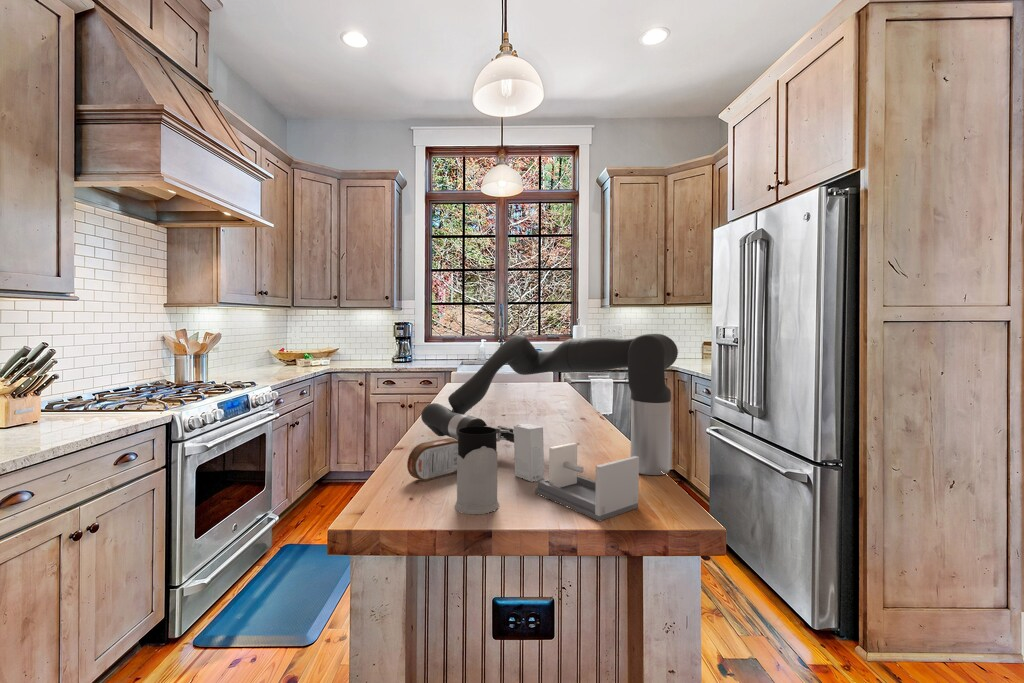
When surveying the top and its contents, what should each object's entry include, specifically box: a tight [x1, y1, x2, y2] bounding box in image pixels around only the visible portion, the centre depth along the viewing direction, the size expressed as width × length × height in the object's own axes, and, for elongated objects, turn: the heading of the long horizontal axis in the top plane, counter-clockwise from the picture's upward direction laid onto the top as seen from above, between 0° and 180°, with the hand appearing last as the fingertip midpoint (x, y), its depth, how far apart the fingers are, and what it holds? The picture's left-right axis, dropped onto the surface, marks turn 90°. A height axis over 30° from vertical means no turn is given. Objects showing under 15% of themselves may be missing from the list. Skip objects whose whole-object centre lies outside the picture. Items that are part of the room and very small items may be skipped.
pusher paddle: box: [548, 442, 585, 488], centre depth 104 cm, size 7×6×9 cm
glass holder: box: [454, 426, 500, 515], centre depth 99 cm, size 9×14×15 cm, turn 22°
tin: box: [406, 437, 458, 482], centre depth 115 cm, size 15×3×8 cm, turn 134°
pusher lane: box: [534, 456, 640, 522], centre depth 100 cm, size 11×18×10 cm, turn 37°
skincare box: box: [513, 422, 545, 483], centre depth 115 cm, size 6×4×12 cm
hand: (502, 441), depth 123 cm, fingers open, 8 cm apart
